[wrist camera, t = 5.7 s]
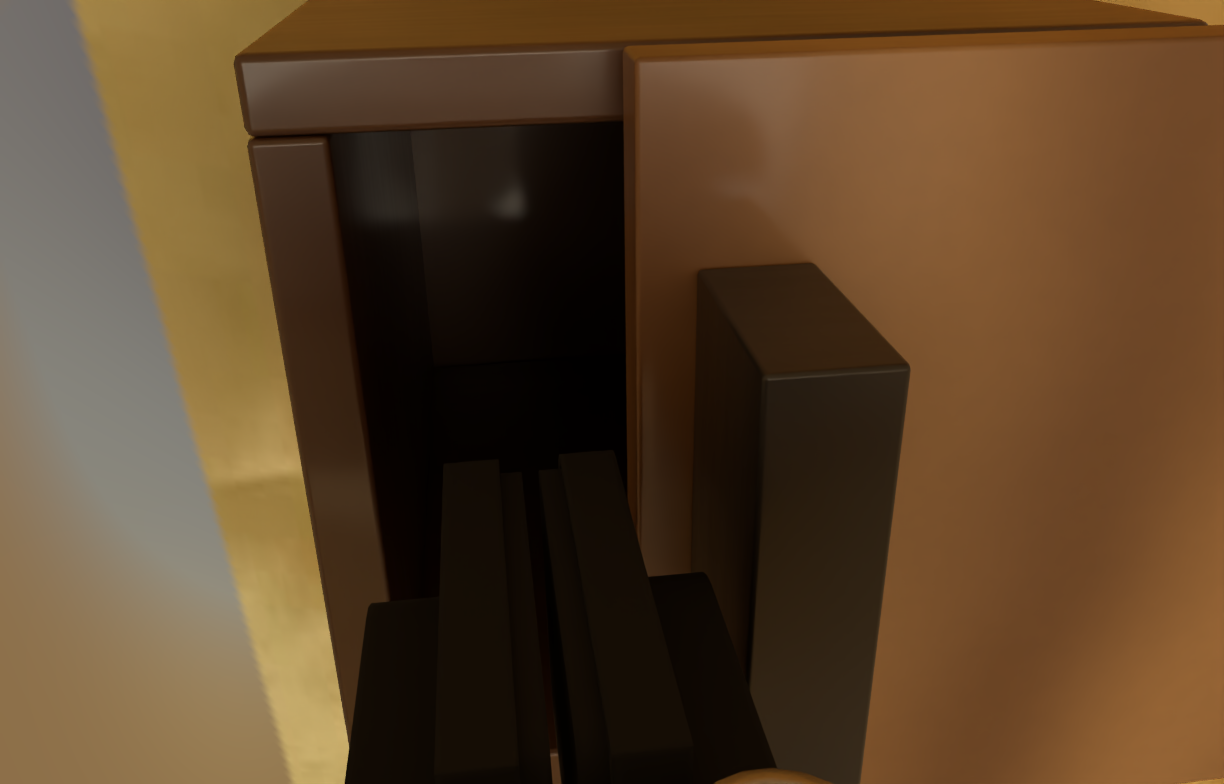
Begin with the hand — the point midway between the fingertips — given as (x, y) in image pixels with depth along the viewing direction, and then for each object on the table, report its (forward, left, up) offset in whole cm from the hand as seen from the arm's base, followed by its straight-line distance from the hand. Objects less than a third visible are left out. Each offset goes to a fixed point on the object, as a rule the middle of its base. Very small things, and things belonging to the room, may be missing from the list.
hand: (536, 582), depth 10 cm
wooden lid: (+6, -3, -2) cm, 6 cm away
